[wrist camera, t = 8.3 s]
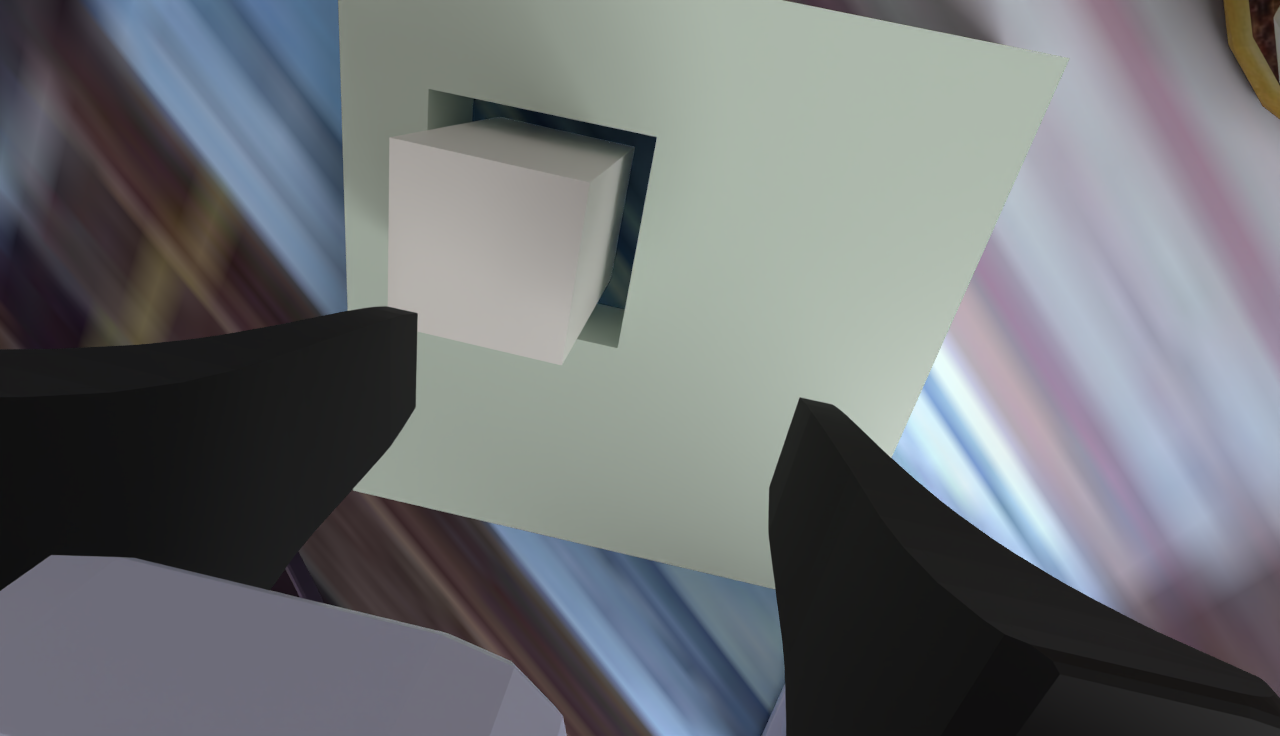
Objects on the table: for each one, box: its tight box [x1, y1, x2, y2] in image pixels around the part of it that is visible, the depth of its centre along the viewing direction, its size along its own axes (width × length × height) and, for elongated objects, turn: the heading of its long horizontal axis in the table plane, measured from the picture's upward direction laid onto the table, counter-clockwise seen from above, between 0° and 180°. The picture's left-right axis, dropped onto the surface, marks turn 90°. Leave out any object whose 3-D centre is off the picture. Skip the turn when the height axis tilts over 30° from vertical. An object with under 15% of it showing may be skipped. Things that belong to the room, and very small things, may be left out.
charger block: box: [388, 117, 635, 365], centre depth 16 cm, size 4×4×6 cm
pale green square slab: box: [338, 0, 1070, 589], centre depth 18 cm, size 16×16×3 cm
